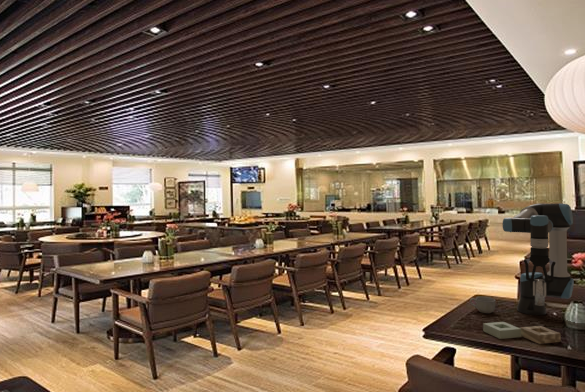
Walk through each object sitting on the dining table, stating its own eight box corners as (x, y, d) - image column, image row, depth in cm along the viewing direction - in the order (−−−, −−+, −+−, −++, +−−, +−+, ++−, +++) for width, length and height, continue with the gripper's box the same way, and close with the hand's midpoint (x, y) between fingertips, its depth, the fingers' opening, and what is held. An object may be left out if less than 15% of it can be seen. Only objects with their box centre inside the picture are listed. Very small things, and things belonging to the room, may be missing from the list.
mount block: (540, 333, 209) (540, 325, 209) (560, 341, 197) (560, 333, 197) (519, 335, 206) (519, 327, 206) (539, 343, 194) (539, 335, 194)
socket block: (503, 329, 216) (503, 321, 216) (521, 337, 204) (521, 328, 204) (483, 331, 213) (483, 323, 213) (499, 338, 201) (499, 330, 201)
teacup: (496, 311, 250) (496, 297, 250) (494, 315, 241) (494, 301, 241) (471, 308, 258) (471, 295, 258) (468, 312, 249) (468, 298, 249)
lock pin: (539, 303, 204) (539, 279, 204) (546, 305, 200) (546, 280, 200) (532, 304, 203) (532, 279, 203) (539, 306, 199) (539, 281, 199)
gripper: (518, 247, 203) (519, 295, 203) (560, 249, 194) (560, 299, 194) (519, 245, 209) (520, 292, 209) (560, 247, 200) (560, 296, 200)
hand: (539, 295), depth 202 cm, fingers closed on lock pin, 4 cm apart
